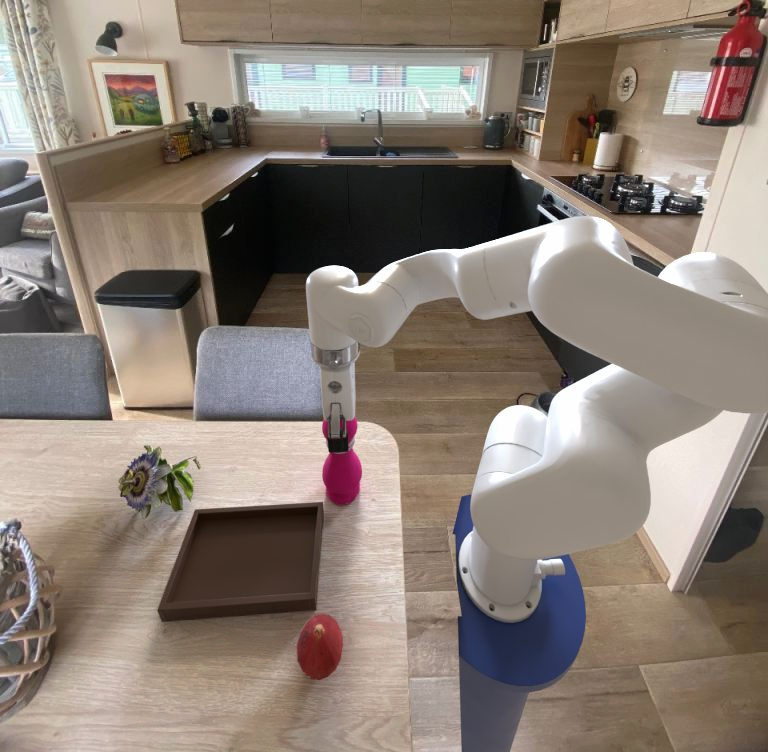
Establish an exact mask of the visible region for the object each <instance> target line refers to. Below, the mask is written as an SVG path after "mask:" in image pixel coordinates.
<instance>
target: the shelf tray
mask: <svg viewBox="0 0 768 752" xmlns="http://www.w3.org/2000/svg"><path fill="white" fill-rule="evenodd" d="M324 509H325V508H324V501H314V502H312V501H311V502H298V503H281V504H263V505H249V506H248V505H245V506H244V505H243V506H230V507H210V508H195V509H194V511H193V513H192V516H191V519H190V522H189V525H188V527H187V530H186V532H185V535H184V536H183V537H184V538H183V540H182V543H181V545H180V548H179V551H178V553H177V557H176V559H175V561H174V564H173V567H172V570H171V572H170V574H169V578H168V580H167V583H166V586H165V588H164V591H163V592H162V593H163V594H162V596H161V599H160V601H159V604H158V606H157V609H156V612H157V614H158V616H159V618H160V622H161V623H166V622H168V623H169V622H180V621H193V620H194V621H195V620H207V619H209V620H210V619H219V618H233V617H246V616H259V615H273V614H287V613H298V612H299V613H301V612H313V611H317V607H318V596H319V582H320V567H321V557H322V555H321V554H322V543H323V532H324V531H323V529H324V517H325V510H324Z"/></svg>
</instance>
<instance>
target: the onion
mask: <svg viewBox="0 0 768 752" xmlns="http://www.w3.org/2000/svg"><path fill="white" fill-rule="evenodd" d="M343 648H344V639H343V632H342V629H341V627H340V625H339V622H338V621H337V620H336V619H335V618H333V616H331V615H330V614H326V613H319V614H315V615H313V616H312V617H310V618H309V619H308V620H306V622H305V624H304V625H303V627H302V629H301V630H300V632H299V636H298V639H297V643H296V659H297V663H298V665H299V668H300V670H301V671H302V673H303V674H305V675H306V676H307V677H308V679H310V680H314V681H322V680H325V679H328V678H329V677H330V676H331V675H332V674H333V673H334V672H335V671H336V670H337V668H338V666H339V664H340V662H341V660H342V653H343Z"/></svg>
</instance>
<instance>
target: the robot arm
mask: <svg viewBox="0 0 768 752" xmlns="http://www.w3.org/2000/svg"><path fill="white" fill-rule="evenodd" d="M305 296H306V308H307V319H308V332H309V333H308V334H309V343H310V345H309V346H310V357H311V360H312V361H313V363H315V364H316V365H317V366H318V368H319V382H320V399H321V408H322V415H323V416H322V417H323V420H324V419H325V420H326V421H328V432H327V438H328V447H327V450H328V451H327V452H328V453H340V452H348V450H349V445H348V431H346V420H347V421H350V420H351V421H352V420H353V419H354V417H356V365H355V364H356V363H355V362H356V361H357V360H358V359H359V357H360V354H361V345H363V346H366V347H369V348H380V347H383V346H385V345H386V344H388V343H389V342H390V341H391V340H392V339H393V338H394V336H395V335H396V333H398V331H399V330H400V329H401V327H402V326H403V324H404V323H405V321H406V320H407V319H408V317H409V316H410V315H411V313H412V312H413V311H414V310H415V308H416V307H417V306H420V305H422V304H425V303H429V302H433V301H437V300H441V299H448V298H449V299H450V298H457V299H459V300H460V302H461V303H462V305H463V307H464V309H465V310H467V312H468V313H469V314H470V315H471V316H472V317H474V318H476V319H477V320H483V321H487V320H492V319H497V318H502V317H507V316H511V315H517V314H522V313H528V312H532V313H533V315H534V316H535V318H537V320H538V321H539V322H540V324H541V325H543V326H544V327H545V328H546V329H547V330H549V332H551V333H552V334H554V335H555V336H557V337H559V338H561V339H562V340H564V341H566V342H567V343H569V344H571V345H572V346H574V347H575V348H578V349H579V350H582V351H584V352H585V353H589V354H590V355H592V356H594V357H597V358H599V359H601V360H603V361H605V362H607V363H609V365H606V366H605V367H602V368H601V369H599V370H597V371H595V372H594V373H592V374H589V375H587V376H586V377H584V378H581V379H580V380H578V381H576V382H574V383H572V384H570V385H568V386H566V387H565V388H563V389H561V390H560V391H559V392H557V393H556V394H555V395H554V397H553V398H552V399H551V401H550V406H549V409H548V413H547V414H545V413H544V412H542V411H541V410H539V409H537V408H535V407H532V406H528V405H524V404H523V405H521V404H519V405H518V404H517V405H511V406H508V407H505V408H504V409H502V410H501V411H500V412H499V413H498V414H497V415H496V416H495V417H494V418H493V420H492V421H491V423H490V426H489V428H488V431H487V434H486V438H485V441H484V446H483V450H482V453H481V457H480V462H479V466H478V469H477V472H476V476H475V479H474V484H473V486H472V487H473V488H472V492H471V494H472V496H471V505H470V510H471V518H472V521H473V524H474V526H473V531H472V532H470V533H469V534H468V535H467V536H466V538H465V539H464V541H463V543H462V545H461V548H460V552H459V574H460V578H461V581H462V584H463V587H464V589H465V591H466V593H467V595H468V596H469V597H470V599H471V600H472V602H473V603H474V604H475V605H476V606H477V607H478V608H479V609H480V610H481V611H482V612H483V613H485V614H486V615H487V616H489V617H491V618H493V619H495V620H498V621H501V622H505V623H515V622H520V621H523V620H524V619H526V618H528V617H529V616H530V615H531V614H532V613H533V612H534V611H535V609H536V607H537V606H538V603H539V600H540V596H541V591H542V580H541V579H545V578H546V575H553V576H555V575H565V567H564V564H563V562H562V560H561V559H549V560H546V561H542V559H548V558H553V557H558V556H562V555H567V554H569V555H571V554H576V553H580V552H583V551H589V550H592V549H596V548H600V547H605V546H609V545H613V544H616V543H620V542H623V541H625V540H627V539H630V538H631V537H632V536H634V535H635V534H636V533H637V532H638V531H640V529H641V528H642V527H643V526H644V524H646V521H647V520H648V517H649V515H650V512H651V511H650V510H651V505H652V495H651V484H650V477H649V471H648V464H647V461H648V457H649V454H650V453H651V452H652V451H653V450H655V449H656V448H658V447H660V446H663V445H665V444H667V443H669V442H671V441H673V440H675V439H678V438H680V437H682V436H684V435H687V434H689V433H691V432H693V431H695V430H697V429H700V428H701V427H704V426H705V425H707V424H709V423H710V422H712V421H713V420H714V419H715V418H717V417H718V416H719V415H721V414H722V413H723V411H725V412H730V413H738V414H739V413H740V414H767V413H768V292H767V290H765V288H764V287H763V286H762V285H761V283H760V282H759V281H758V280H757V279H756V278H755V277H754V276H753V275H752V273H750V272H749V271H748V270H747V269H746V268H745V267H743V266H742V265H740V264H739V263H738V262H736V261H735V260H734V259H731V258H729V257H727V256H724V255H721V254H718V253H713V252H694V253H690V254H686V255H683V256H681V257H678V258H676V259H675V260H673V261H672V262H670V263H669V264H667V265H666V266H665V268H663V269H662V270H661V271H660V273H659V275H658V276H656V275H654V274H652V273H650V272H648V271H646V270H643V269H641V268H640V267H638V266H636V265H634V261H633V257H632V254H631V252H630V249H629V246H628V244H627V242H626V240H625V239H624V237H623V235H622V234H621V233H620V231H619V230H618V229H617V228H616V227H615V226H614V225H612V224H611V222H608V221H607V220H605V219H602V218H600V217H597V216H592V215H580V216H572V217H567V218H564V219H560V220H557V221H553V222H549V223H547V224H543V225H539V226H537V227H534V228H530V229H527V230H523V231H521V232H517V233H514V234H511V235H507V236H504V237H500V238H498V239H495V240H491V241H488V242H487V241H486V242H484V243H481V244H477V245H474V246H471V247H468V248H467V247H466V248H462V249H459V248H458V249H457V248H452V249H434V250H429V251H425V252H422V253H419V254H415V255H412V256H409V257H406V258H403V259H400V260H397V261H394V262H392V263H389V264H388V265H386V266H384V267H383V268H381V269H380V270H379V271H378V272H376V273H375V274H374V275H373V276H372V277H371V278H370V279H369V280H368V281H367V282H366V283H365V284H362V285H359V279H358V276H357V274H356V273H355V272H354V271H353V270H352V269H349V268H348V267H345V266H340V265H328V266H323V267H319V268H317V269H315V270H313V271H312V272H311V273H310V274H309V275H308V276H307V278H306V282H305ZM340 410H341V413H342V415H340ZM331 411H332V415H331ZM341 420H343V429H340V421H341ZM463 572H465V573H466V574H464V573H463ZM527 606H528V607H529V608H528V607H527ZM490 609H492V610H493V611H491V610H490Z"/></svg>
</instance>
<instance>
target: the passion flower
mask: <svg viewBox="0 0 768 752" xmlns="http://www.w3.org/2000/svg"><path fill="white" fill-rule="evenodd" d="M143 448H144V449H145V450H146V452H144V453H141V454H140V455H138V457H134V458H133V461H130V465H127V466H126V467H127V468H126V470H125V472H124V473H123V475H122V476H121V477H120V478H119V479H118V483H119V484H118V486H117V488H118V490H119V491H120V494H119V498H125V500H126V502H127V504H126V505H127V506H129V507H130V508H131V510H132V509H133V514H134V515H136V514H139V513H140V516H141V519H142V520H145V519H147V517H149V515H150V514H151V509H152V507H153V508H155V509H156V510H158V509H159V508H161V505H162V504H163V503H164V504H166V505H168V506H170V507H171V508H172V510H173V511H174V512H176V513H177V512H179V511H181V512H182V511H184V506H183V504H184V499H183V495H182V494H181V492H180V491H179V488H178V487H176V485H175V484H176V483H175V481H176V482H177V483H178V485H179V486H180V487H181V489H182V490H183V494H184V495H185V496H186V498H187V499H188V501H189V502H190V503H192V498H193V495H194V480H193V477H192V475H191V473H190V472H187V471H186V470H184V469H187V467H188V466H189V464H190V461H189V460H191V459H192V461H193V462H194V464H195V466H196V467H197V469H198V470H201V469H202V466H201V464H200V461H199V460H198V456H197V455H194V456H191V457H188V458H185V459H184V460H181V461H179V462H176V463H175V464H171V463H168V461H167V459H166V458H162V448H161V446H157V447H155V448H153V446H152V445H150V444H149V445H147V444H146V445H145V444H144V445H143Z"/></svg>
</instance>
